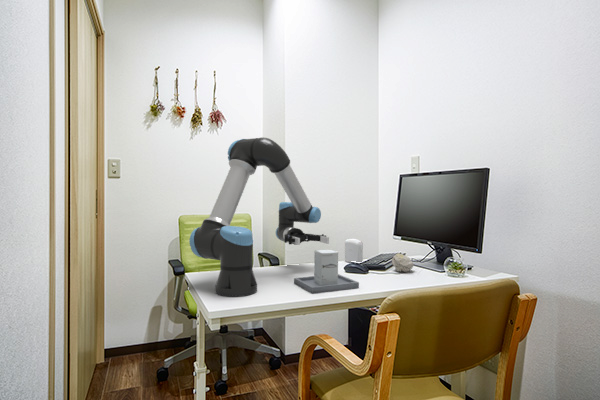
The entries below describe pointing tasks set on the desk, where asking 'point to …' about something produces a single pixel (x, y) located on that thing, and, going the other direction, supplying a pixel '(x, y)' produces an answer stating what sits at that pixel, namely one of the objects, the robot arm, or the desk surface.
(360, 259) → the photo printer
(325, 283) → the supplement box
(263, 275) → the desk surface
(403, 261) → the fossil replica
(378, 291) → the desk surface
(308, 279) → the tray
